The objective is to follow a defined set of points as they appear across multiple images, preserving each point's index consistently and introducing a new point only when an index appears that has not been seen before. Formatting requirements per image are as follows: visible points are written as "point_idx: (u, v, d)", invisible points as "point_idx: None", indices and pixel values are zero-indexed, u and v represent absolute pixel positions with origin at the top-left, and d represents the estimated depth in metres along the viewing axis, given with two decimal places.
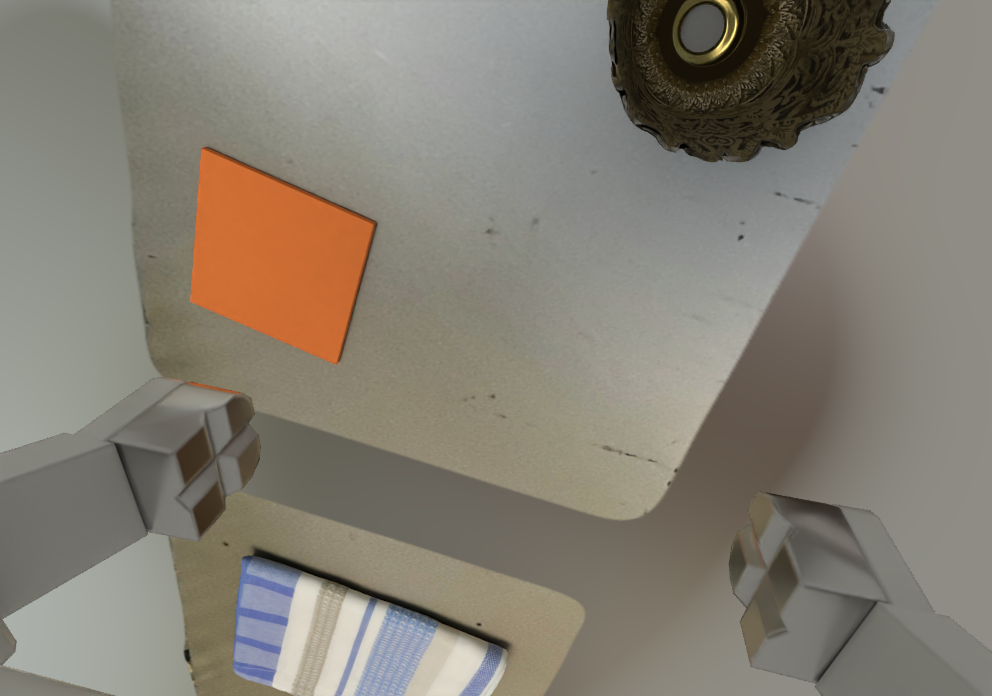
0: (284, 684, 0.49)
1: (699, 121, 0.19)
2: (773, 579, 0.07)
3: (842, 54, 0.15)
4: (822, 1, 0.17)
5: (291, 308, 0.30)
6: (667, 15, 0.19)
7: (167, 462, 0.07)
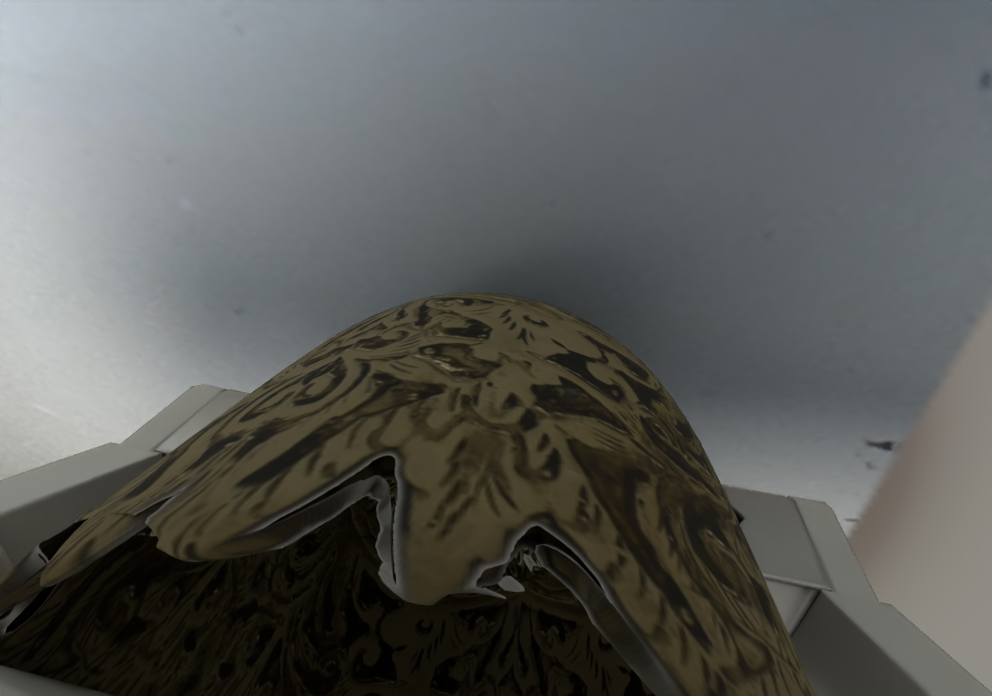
0: None
1: (505, 617, 0.09)
2: None
3: None
4: None
5: None
6: None
7: None
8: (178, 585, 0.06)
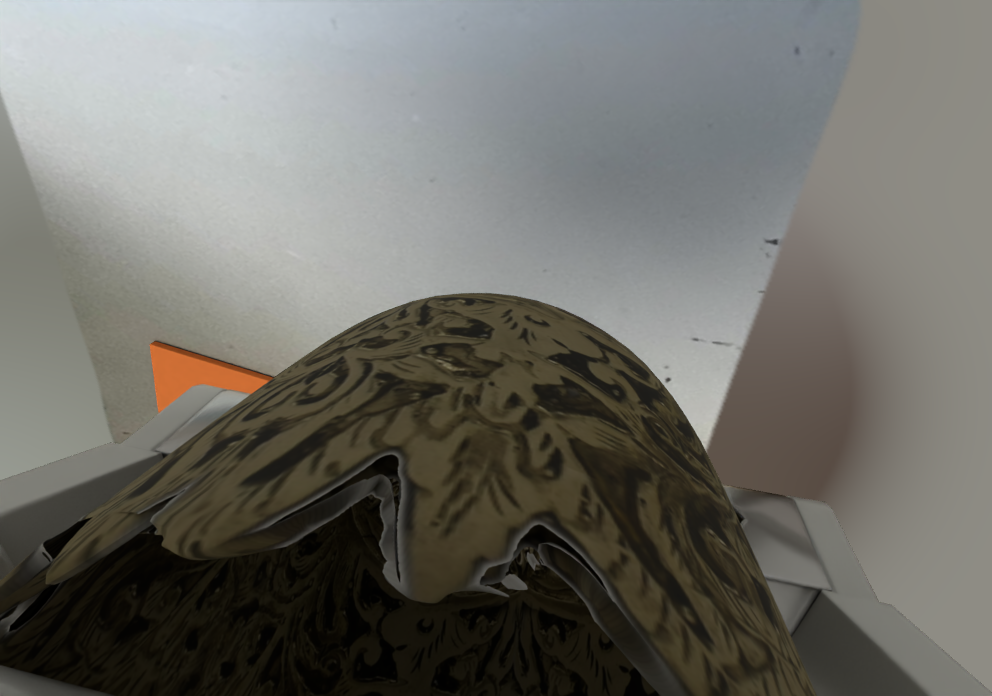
0: None
1: (506, 616, 0.09)
2: None
3: None
4: None
5: None
6: None
7: None
8: (180, 585, 0.06)
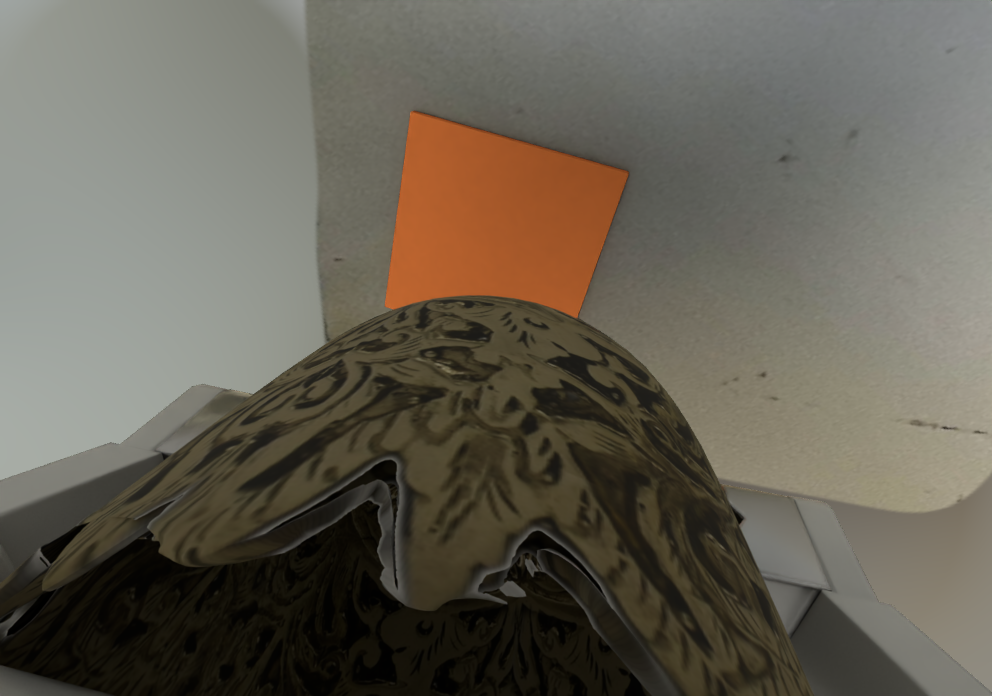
0: None
1: (506, 618, 0.09)
2: None
3: None
4: None
5: (510, 297, 0.25)
6: None
7: None
8: (179, 587, 0.06)
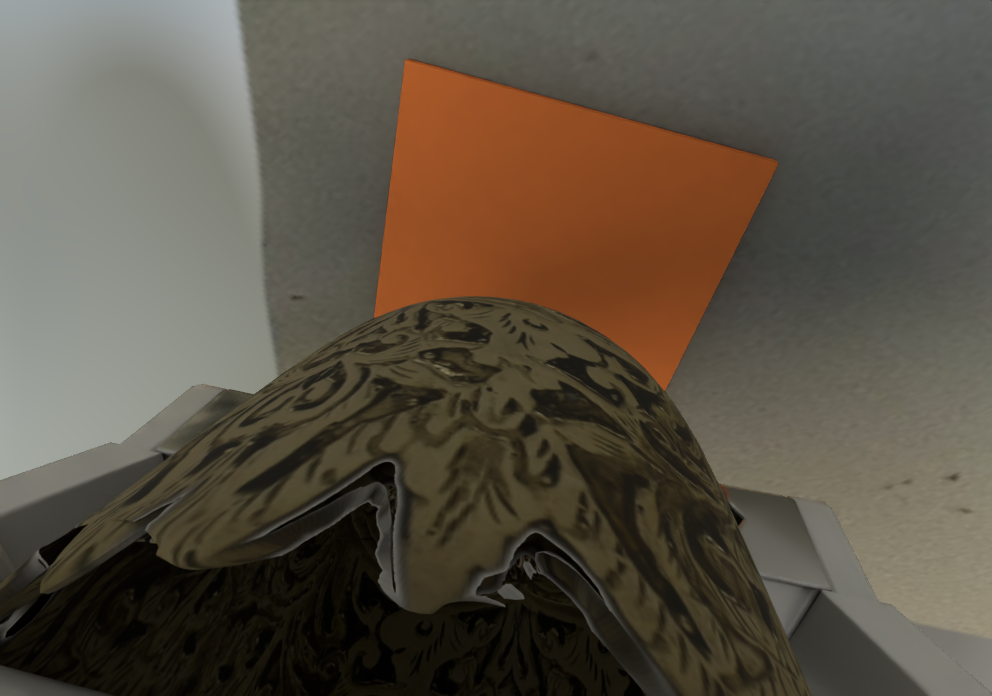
0: None
1: (504, 619, 0.09)
2: None
3: None
4: None
5: None
6: None
7: None
8: (178, 589, 0.06)
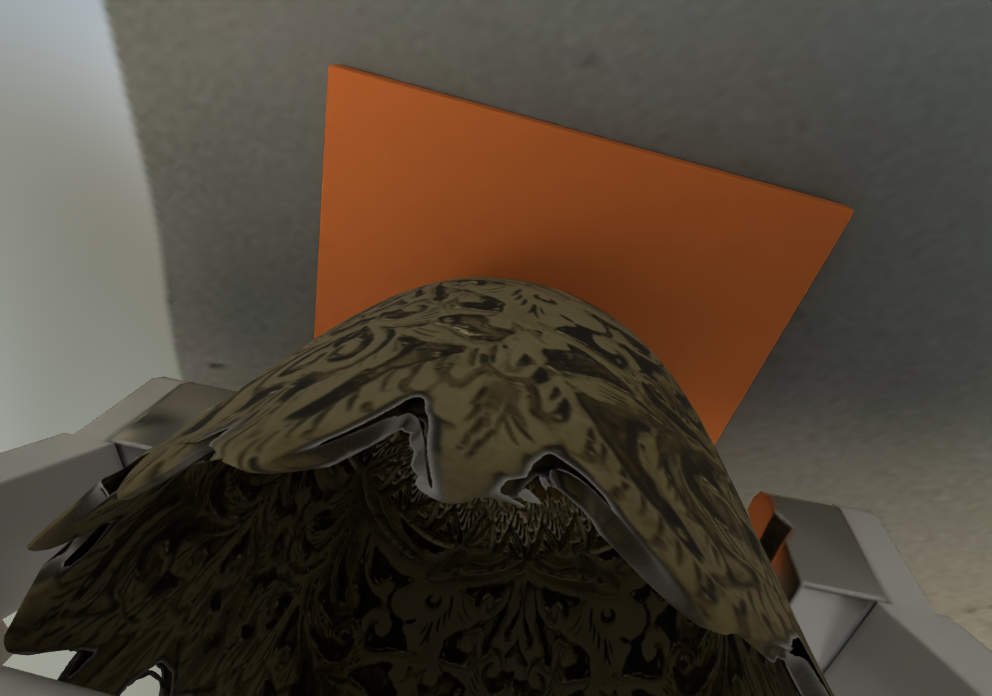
0: None
1: (511, 594, 0.10)
2: None
3: (740, 684, 0.06)
4: None
5: None
6: None
7: None
8: (206, 547, 0.07)
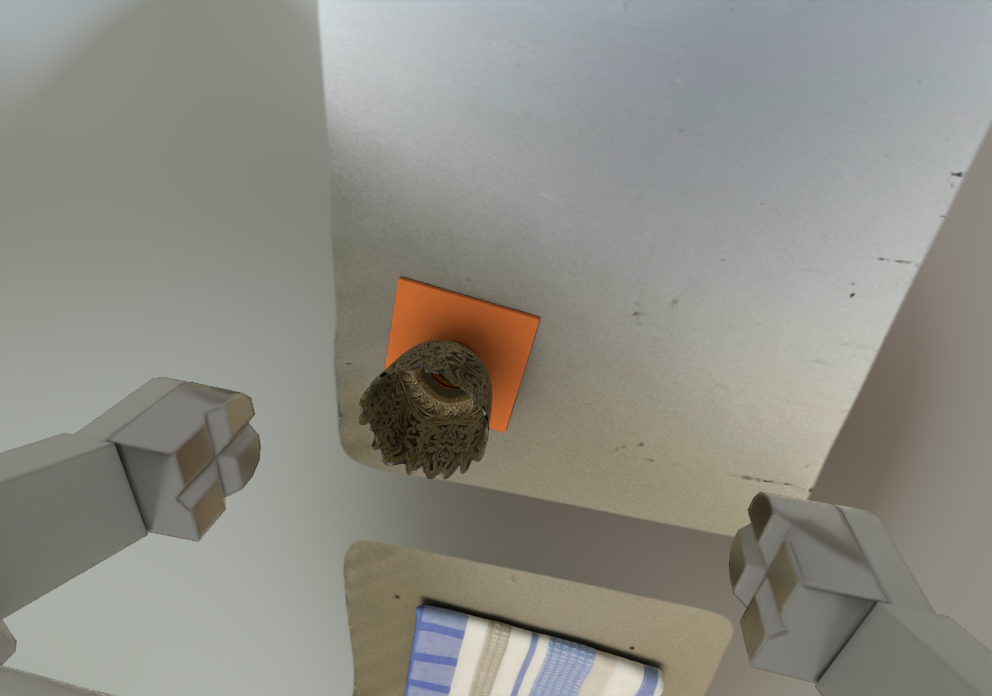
0: None
1: (449, 426, 0.34)
2: (773, 579, 0.07)
3: (486, 421, 0.30)
4: (486, 379, 0.32)
5: None
6: None
7: (167, 462, 0.07)
8: (377, 400, 0.31)
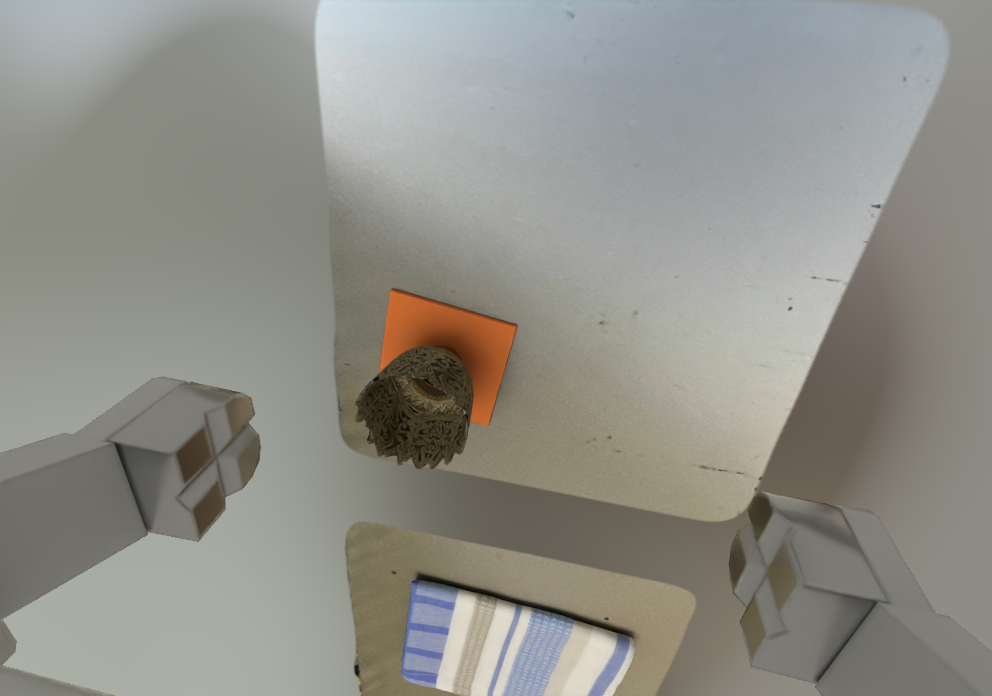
0: (446, 685, 0.59)
1: (436, 422, 0.38)
2: (773, 579, 0.07)
3: (467, 419, 0.34)
4: (468, 381, 0.36)
5: None
6: None
7: (167, 462, 0.07)
8: (372, 400, 0.35)
